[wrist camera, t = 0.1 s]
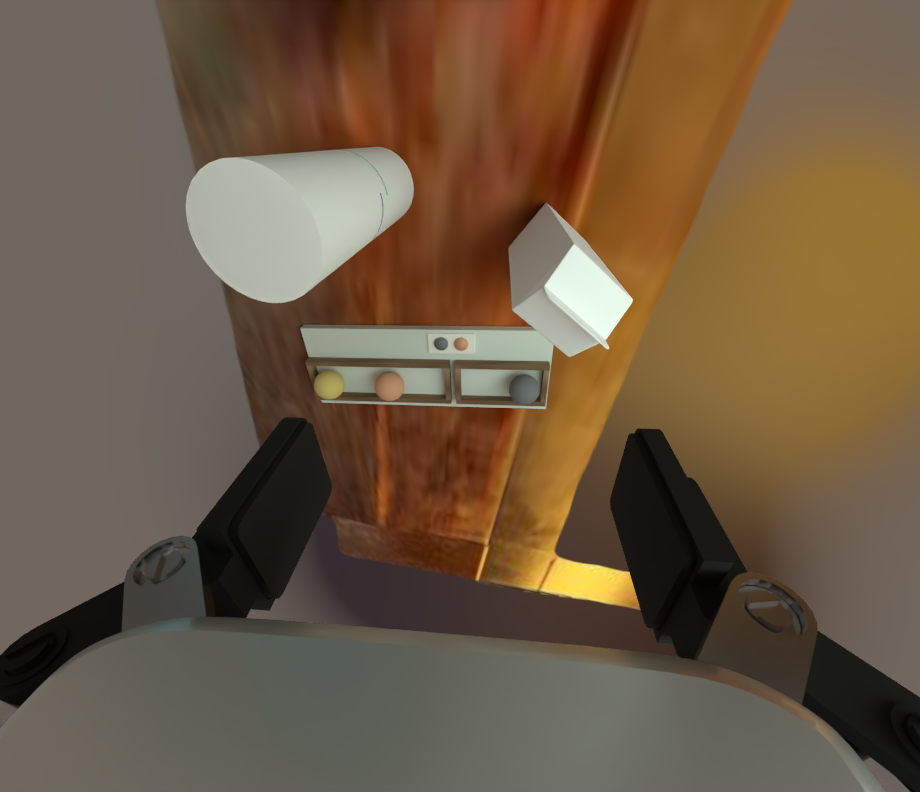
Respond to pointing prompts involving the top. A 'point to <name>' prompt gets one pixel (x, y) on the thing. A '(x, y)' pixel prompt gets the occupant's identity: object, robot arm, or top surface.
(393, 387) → the terracotta ball
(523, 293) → the milk
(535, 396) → the charcoal ball
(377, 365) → the wooden picture frame
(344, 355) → the board
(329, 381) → the ochre ball
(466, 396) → the wooden rectangular frame
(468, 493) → the top surface
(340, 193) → the cylindrical container
